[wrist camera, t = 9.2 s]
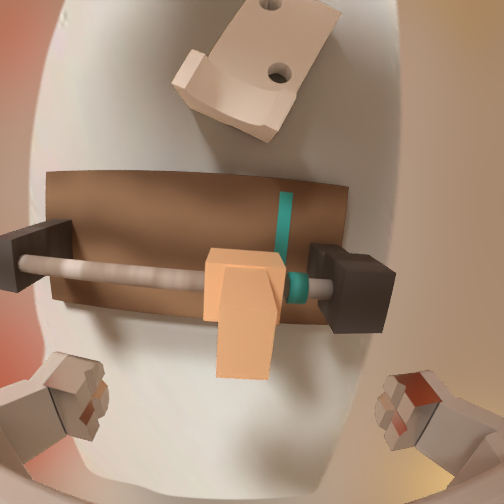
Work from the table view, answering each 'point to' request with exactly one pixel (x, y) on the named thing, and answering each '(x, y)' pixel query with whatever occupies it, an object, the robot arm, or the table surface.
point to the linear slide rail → (194, 244)
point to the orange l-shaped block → (243, 309)
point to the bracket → (257, 64)
